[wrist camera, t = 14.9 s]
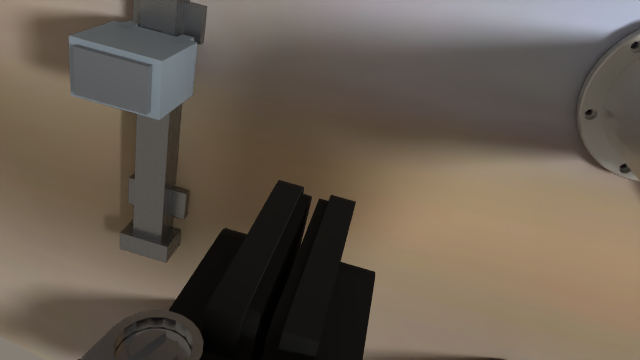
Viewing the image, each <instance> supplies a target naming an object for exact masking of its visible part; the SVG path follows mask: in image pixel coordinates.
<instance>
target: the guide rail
mask: <svg viewBox="0 0 640 360" xmlns="http://www.w3.org/2000/svg"><path fill="white" fill-rule="evenodd" d="M206 13H207V6H203V5H199V4H196V3H192V2H190V0H133V21H135V22H138V23H140V27H142V28H146V29H150V30H153V31H157V32H161V33H165V34H168V35H172V36H176V37H178V36H180V35H182V34H183V35H187V36H191V37H194V42H197V44H202V43H204V34H205V23H206ZM181 108H182V103H181V104H180V105H179V106H177V107H176V108H175V109H173V110H172V111H171V112H169V113H168V114H167V115H165V116H164V117H163V118H161V119H160V120H157V119H153V118H150V117H146V116H143V115H139V114H137V123H136V154H135V175H134V174H133V175H132V176H131V177H129V194H128V203H130V204H133V205H134V217H133V220H132V221H131V222H130V223H129V224H128V225H127V226H126V227H125V228H124V229H123V230H122V231H121V232H120V249H122V250H126V251H129V252H132V253H136V254H139V255H142V256H146V257H149V258H152V259H156V260H159V261H162V262H167V261H168V260H169V258H170V257H171V256H172V254H173V253H174V252H175V250H176V249H177V248H178V246H179V245H180V237H181V229H178V228H174V227H172V223H173V216H174V217H178V218H181V219H185V217H186V216H187V212H188V202H189V190H186V189H182V188H179V187H175V184H176V172H177V159H178V146H179V134H180V121H181Z"/></svg>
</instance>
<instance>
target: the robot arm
mask: <svg viewBox="0 0 640 360" xmlns="http://www.w3.org/2000/svg"><path fill="white" fill-rule="evenodd" d="M634 42H637V44H636V46H635V47H633V48H631V45H632V44H633V43H634ZM589 109H591V111H590V112H589V113H585V112H586V111H587V110H589ZM577 126H578V130H579V134H580V137H581V139H582V141H583V143H584V145H585V147H586V149H587V150H588V151H589V153H590V154H591V155H592V157H593V158H594V159H595V160H596V161H597V162H598V163H599V164H600V165H601V166H603V167H604V168H606V169H607V170H609V171H611V172H612V173H614V174H616V175H618V176H621V177H624V178H627V179H629V180H634V181H640V29H639V30H637V31H635V32H633V33H632V34H630V35H628V36H626V37H625V38H623V39H622V40H620V41H619V42H618V43H617V44H615V45H614V46H613V47H612V48H610V49H609V50H608V51H607V52H606V53H605V54H604V55H603V56H602V57H601V58H600V60H599V61H598V62H597V63H596V64H595V65H594V67H593V68H592V70H591V72H590V73H589V75H588V76H587V78H586V80H585V82H584V84H583V87H582V89H581V91H580V94H579V99H578V104H577ZM622 164H624V165H623V166H621V165H622ZM303 192H304V187H302V186H298V185H295V184H291V183H288V182H284V181H281V180H279V181H278V182H277V184H276V185H275V187H274V189H273V191H272V192H271V194H270V196H269V198H268V199H267V201H266V203H265V205H264V206H263V208H262V210H261V212H260V213H259V215H258V217H257V219H256V220H255V222H254V224H253V225H252V227H251V229H250V231H249V232H248V234H244V233H241V232H237V231H234V230H230V229H227V228H225V229H223V230H222V231H221V233H220V234H219V235H218V237H217V238H216V240H215V241H214V243H213V245H212V246H211V248H210V249H209V251H208V252H207V254H206V255H205V257H204V258H203V260H202V261H201V263H200V264H199V266H198V267H197V269H196V270H195V272H194V273H193V275H192V276H191V278H190V279H189V281H188V282H187V284H186V285H185V287H184V288H183V290H182V291H181V293H180V294H179V296H178V297H177V299H176V300H175V302H174V303H173V305H172V306H171V308H170V309H169V311H163V310H151V311H145V312H139V313H136V314H134V315H131V316H129V317H127V318H125V319H123V320H122V321H121V322H119V323H118V324H116V325H115V326H114V327H113V328H112V329H111V330H110V331H109V332H107V333H106V334H105V335H104V336H103V337H102V338H101V339H100V340H99V341H98V342H97V343H96V344H95V345H94V346H93V347H92V348H91V349H90V350H89V351H88V352H87V353H86V354H85V355H84V356H83V357H82V358H81V359H78V360H363V353H364V347H365V340H366V333H367V327H368V320H369V314H370V307H371V301H372V294H373V287H374V281H375V272H374V271H370V270H367V269H363V268H360V267H357V266H353V265H350V264H346V263H343V262H340V261H341V257H342V253H343V250H344V246H345V242H346V238H347V234H348V230H349V226H350V223H351V219H352V215H353V211H354V207H355V203H356V202H355V201H351V200H348V199H344V198H341V197H337V196H334V195H331V196H330V199H329V201H326V200H323V199H319V201H318V203H317V206H316V208H315V211H314V213H313V216H312V218H311V221H310V224H309V226H308V229H307V231H306V234H305V236H304V239H303V241H302V237H303V233H304V229H305V225H306V220H307V216H308V212H309V208H310V204H311V199H312V196H309V195H305V194H303ZM301 241H302V244H301ZM300 246H301V247H300Z"/></svg>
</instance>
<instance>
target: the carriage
mask: <svg viewBox="0 0 640 360" xmlns="http://www.w3.org/2000/svg"><path fill="white" fill-rule="evenodd" d="M196 51H197V42H194V37H191V36H187V35H183V34H182V35H180V36H178V37H176V36H172V35H168V34H165V33H161V32H157V31H153V30H150V29H146V28H142V27H140V23H138V22H135V21H131V20H129V21H126V22H120V21H116V20H114V21H111V22H108V23H105V24H102V25H99V26H96V27H93V28H90V29H87V30H84V31H81V32H78V33H75V34H72V35H69V58H70V85H71V96H75V97H79V98H82V99H86V100H89V101H93V102H96V103H100V104H104V105H107V106H111V107H114V108H118V109H121V110H125V111H128V112H132V113H136V114H139V115H143V116H146V117H150V118H153V119H157V120H160V119H161V118H163V117H164V116H165V115H167V114H168V113H169V112H171V111H172V110H173V109H175V108H176V107H177V106H179V105H180V104H181V103H183V102H184V101H185V100H187V99H188V98H189V97H191V96H192V95H193V85H194V74H195V62H196Z"/></svg>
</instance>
